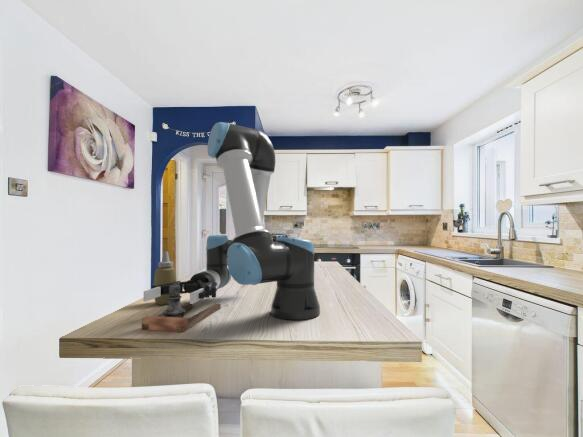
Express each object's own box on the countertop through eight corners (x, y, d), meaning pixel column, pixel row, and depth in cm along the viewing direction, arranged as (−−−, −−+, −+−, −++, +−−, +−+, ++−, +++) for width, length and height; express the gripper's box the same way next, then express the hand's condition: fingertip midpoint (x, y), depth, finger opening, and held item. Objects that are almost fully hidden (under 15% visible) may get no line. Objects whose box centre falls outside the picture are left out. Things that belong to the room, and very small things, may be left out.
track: (220, 308, 99) (220, 299, 99) (183, 332, 77) (183, 320, 77) (187, 306, 101) (187, 297, 102) (141, 329, 79) (141, 317, 79)
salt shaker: (177, 328, 80) (178, 282, 80) (158, 326, 81) (158, 281, 81) (189, 321, 85) (190, 278, 86) (171, 320, 87) (171, 278, 87)
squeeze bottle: (171, 306, 102) (172, 252, 103) (148, 306, 102) (148, 252, 103) (181, 300, 110) (181, 250, 111) (158, 300, 110) (159, 250, 111)
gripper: (240, 295, 99) (211, 314, 78) (170, 292, 103) (125, 309, 82) (240, 272, 99) (211, 284, 78) (170, 270, 103) (126, 281, 82)
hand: (167, 297), depth 80 cm, fingers open, 13 cm apart
